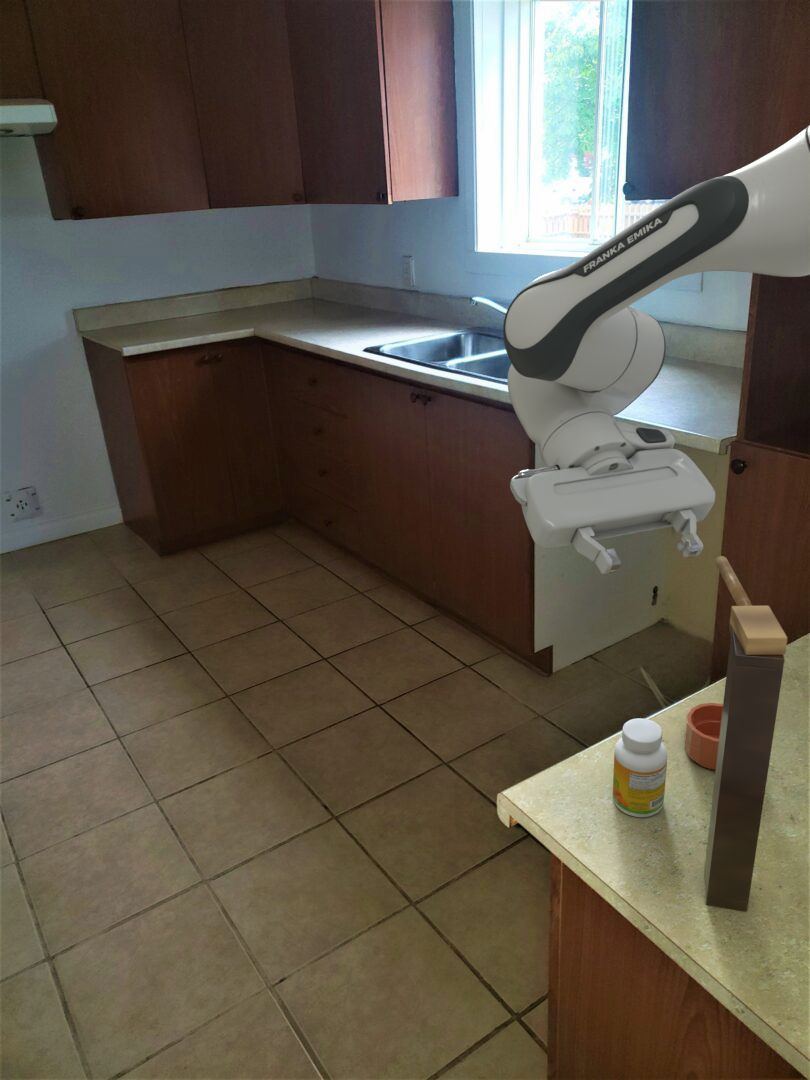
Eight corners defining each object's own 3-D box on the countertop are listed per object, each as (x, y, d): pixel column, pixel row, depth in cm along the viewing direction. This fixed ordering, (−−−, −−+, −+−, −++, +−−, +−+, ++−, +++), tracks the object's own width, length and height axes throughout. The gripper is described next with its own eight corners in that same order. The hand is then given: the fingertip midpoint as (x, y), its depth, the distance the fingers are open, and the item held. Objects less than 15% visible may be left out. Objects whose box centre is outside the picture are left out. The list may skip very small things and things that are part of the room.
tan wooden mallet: (785, 655, 64) (788, 637, 63) (745, 655, 64) (747, 638, 64) (735, 566, 77) (737, 551, 77) (702, 566, 78) (704, 551, 77)
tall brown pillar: (741, 861, 81) (775, 619, 69) (747, 911, 75) (784, 659, 63) (703, 856, 82) (730, 616, 70) (705, 905, 76) (735, 655, 64)
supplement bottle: (611, 781, 92) (614, 711, 88) (661, 785, 91) (667, 715, 87) (612, 816, 87) (616, 744, 83) (665, 821, 86) (671, 748, 82)
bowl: (745, 737, 97) (749, 706, 95) (750, 777, 91) (755, 745, 89) (683, 730, 99) (686, 700, 97) (684, 769, 93) (687, 737, 91)
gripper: (510, 452, 82) (569, 558, 74) (682, 428, 88) (753, 524, 80) (496, 495, 86) (550, 599, 78) (660, 469, 92) (725, 563, 85)
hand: (654, 561), depth 79 cm, fingers open, 8 cm apart
